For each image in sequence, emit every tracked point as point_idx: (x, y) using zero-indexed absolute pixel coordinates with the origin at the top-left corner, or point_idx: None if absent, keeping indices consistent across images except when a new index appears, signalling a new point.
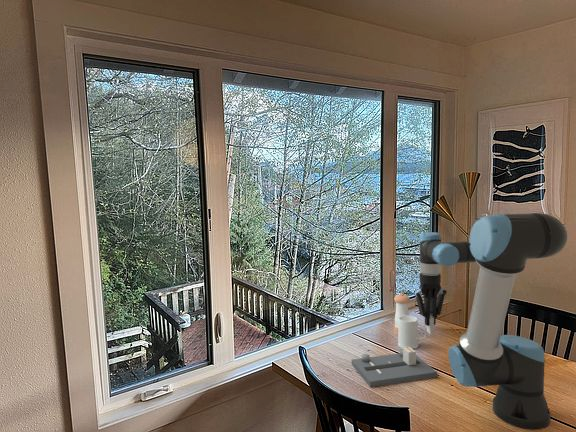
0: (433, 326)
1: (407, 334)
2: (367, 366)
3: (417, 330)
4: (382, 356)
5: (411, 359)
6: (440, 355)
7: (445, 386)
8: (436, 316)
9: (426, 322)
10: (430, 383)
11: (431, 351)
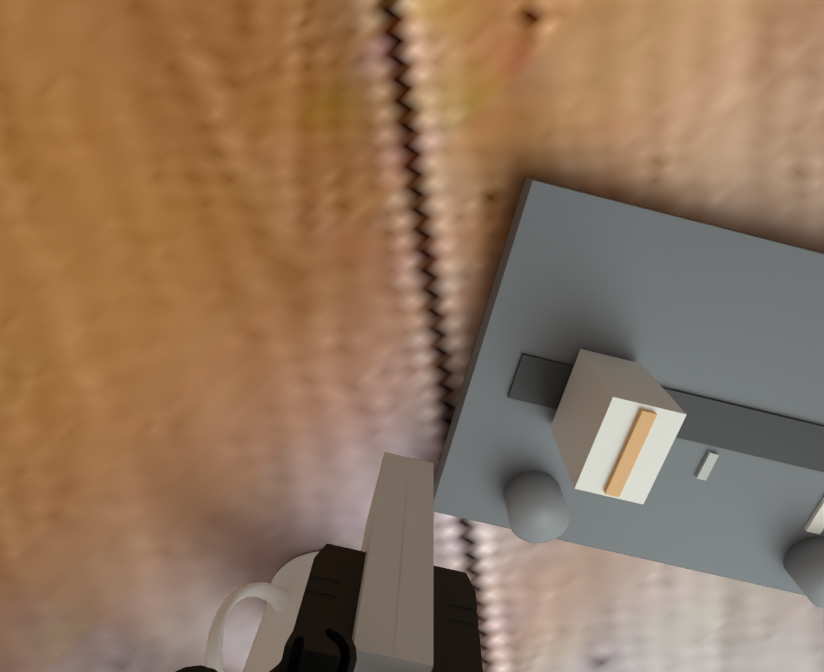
0: (379, 523)
1: None
2: None
3: (256, 669)
4: (665, 551)
5: (632, 377)
6: (244, 406)
7: (592, 26)
8: (313, 646)
9: (474, 623)
10: (648, 127)
11: (258, 475)
